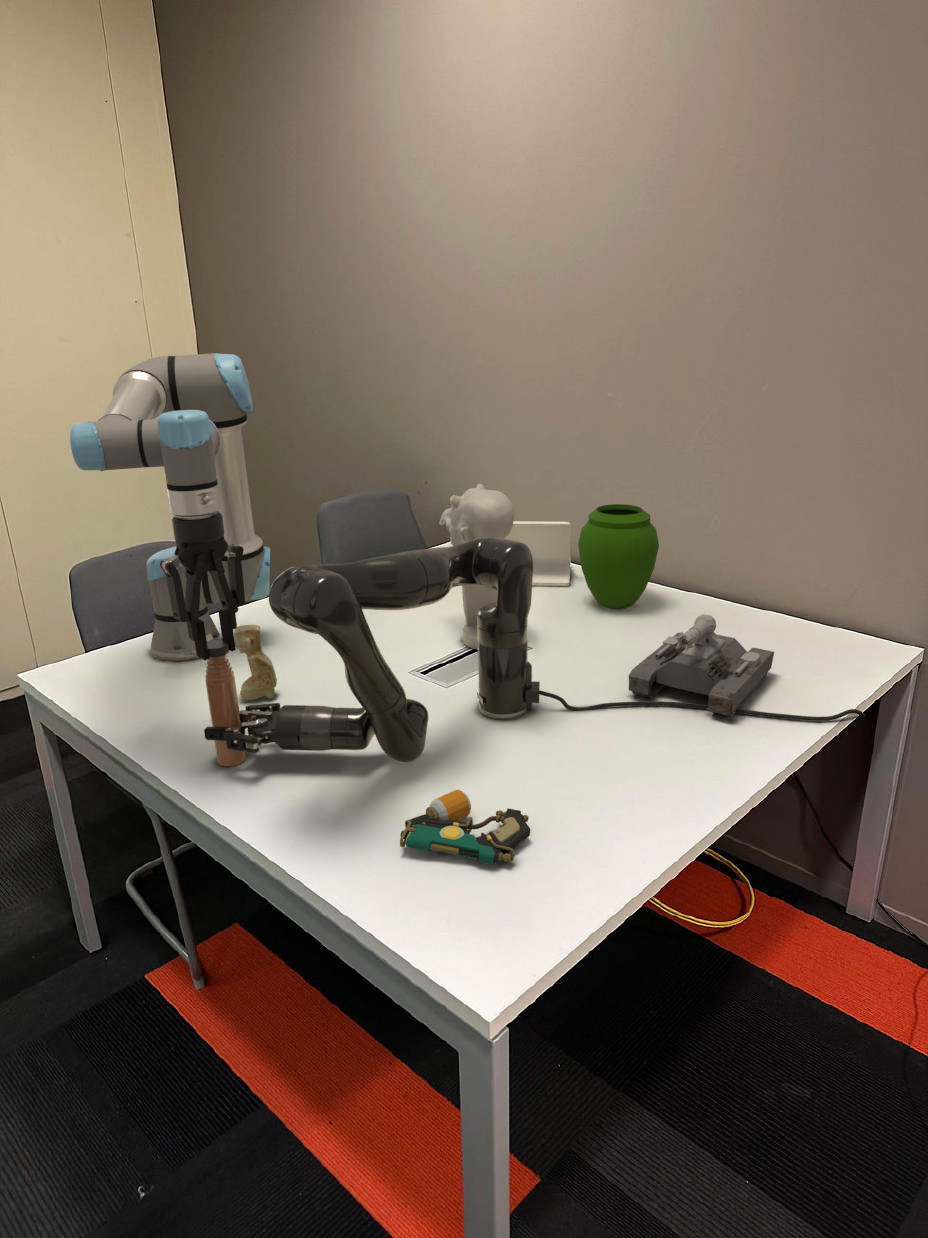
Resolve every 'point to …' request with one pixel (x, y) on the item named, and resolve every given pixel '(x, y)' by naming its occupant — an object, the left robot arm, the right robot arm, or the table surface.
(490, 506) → the bust sculpture
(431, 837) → the spray gun
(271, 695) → the sculpture
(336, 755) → the table surface
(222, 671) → the bottle
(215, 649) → the cap
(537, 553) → the tablet stand
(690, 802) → the table surface
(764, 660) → the toy
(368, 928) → the table surface
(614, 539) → the vase
